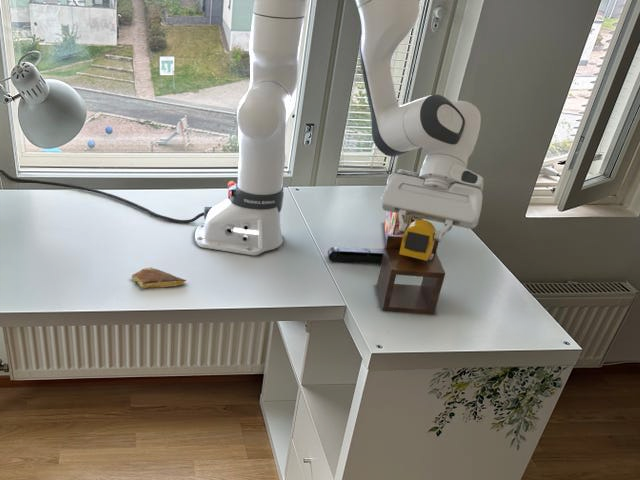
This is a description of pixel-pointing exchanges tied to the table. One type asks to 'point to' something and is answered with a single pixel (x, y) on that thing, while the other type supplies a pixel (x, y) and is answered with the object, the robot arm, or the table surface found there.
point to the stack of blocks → (396, 223)
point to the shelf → (397, 264)
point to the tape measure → (418, 240)
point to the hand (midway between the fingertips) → (419, 236)
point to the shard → (156, 278)
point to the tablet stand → (355, 255)
